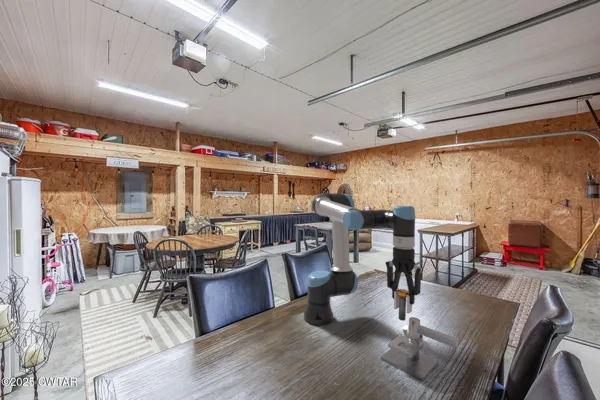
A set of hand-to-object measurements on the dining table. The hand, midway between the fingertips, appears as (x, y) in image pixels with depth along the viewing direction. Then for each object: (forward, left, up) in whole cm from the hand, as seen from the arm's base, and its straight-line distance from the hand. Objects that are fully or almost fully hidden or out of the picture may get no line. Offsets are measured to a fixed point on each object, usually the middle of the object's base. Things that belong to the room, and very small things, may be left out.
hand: (402, 309), depth 96 cm
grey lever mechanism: (+4, +4, -21) cm, 22 cm away
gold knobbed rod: (0, 0, -3) cm, 3 cm away
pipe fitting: (-7, +21, -22) cm, 31 cm away
